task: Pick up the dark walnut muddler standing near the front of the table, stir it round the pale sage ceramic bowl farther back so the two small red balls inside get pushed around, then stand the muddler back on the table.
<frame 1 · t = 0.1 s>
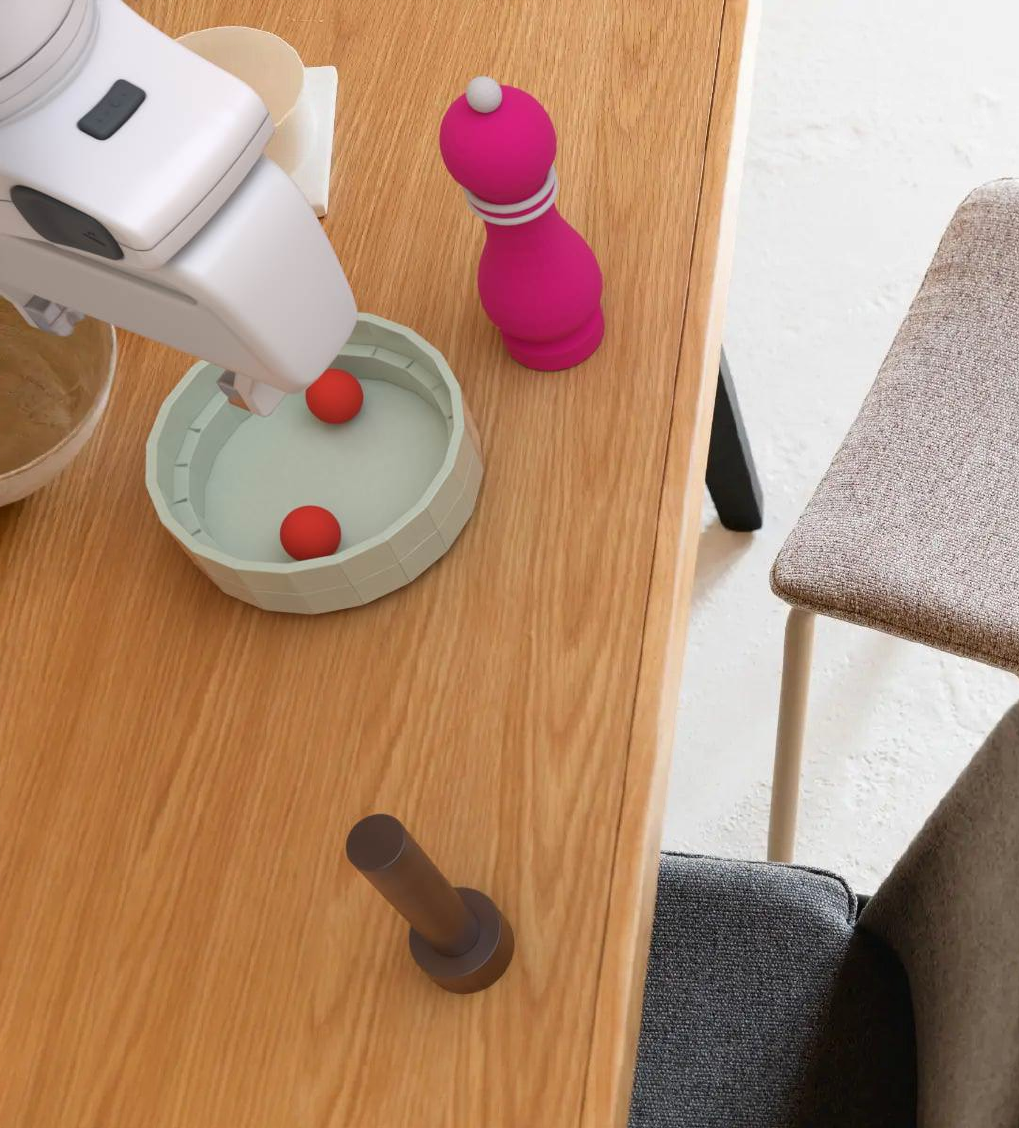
hand: (161, 359, 58), 27 cm above the table, tool pointing down, fingers open, 8 cm apart
ball a: (334, 396, 88), point 2 cm above the table, touching bowl
pepper mill: (555, 333, 93), on the table
muddler: (469, 948, 74), on the table
ball b: (310, 534, 83), point 2 cm above the table, touching bowl
bowl: (336, 488, 87), on the table
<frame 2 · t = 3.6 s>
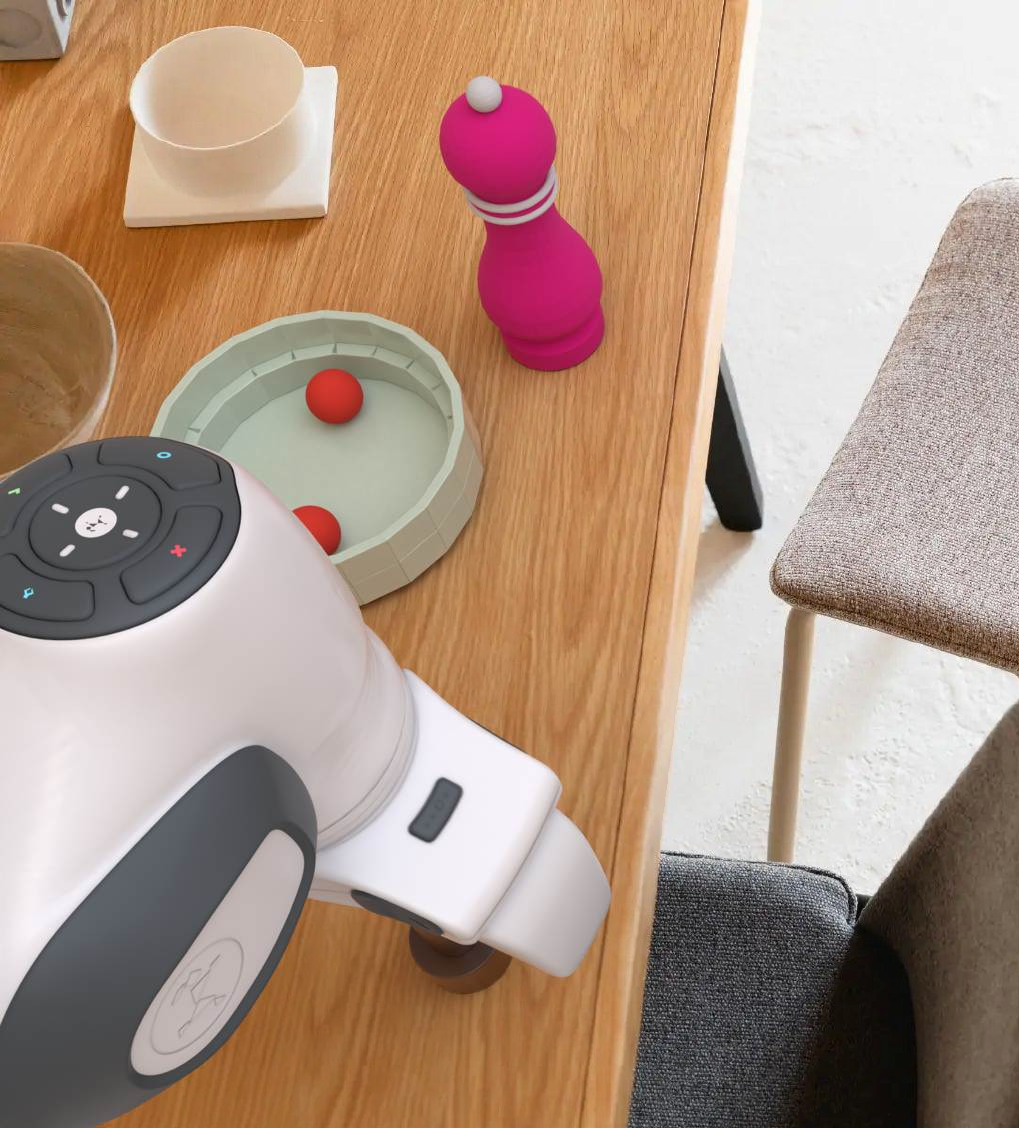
hand: (408, 879, 64), 11 cm above the table, tool pointing down, fingers closed on muddler, 2 cm apart
muddler: (469, 948, 74), on the table, touching gripper
everything else where it was.
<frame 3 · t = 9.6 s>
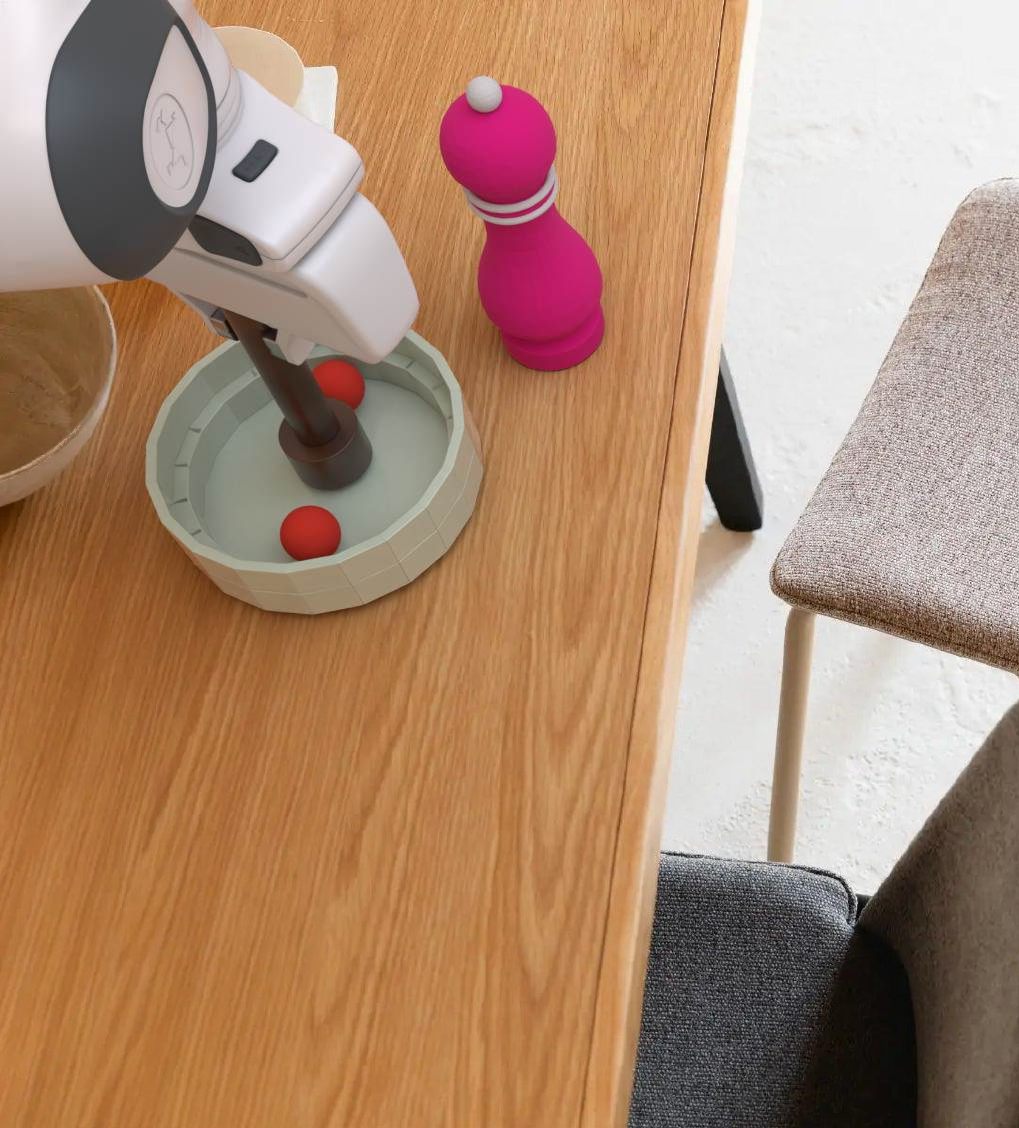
hand: (265, 340, 77), 12 cm above the table, tool pointing down, fingers closed on muddler, 2 cm apart
ball a: (336, 387, 88), point 2 cm above the table, tilted 20°, touching bowl
muddler: (334, 458, 87), point 1 cm above the table, touching gripper
everything else where it was.
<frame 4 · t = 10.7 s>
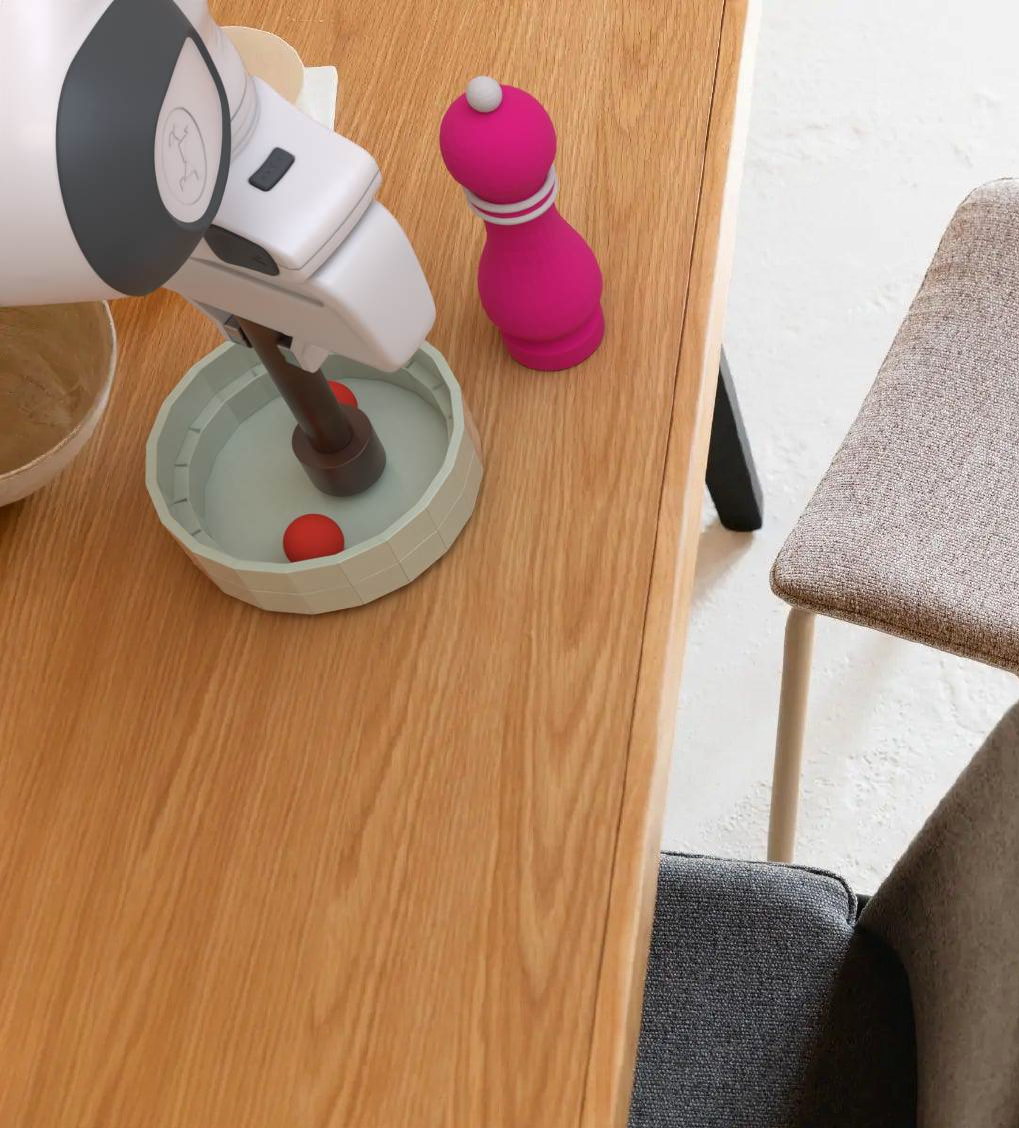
hand: (280, 347, 76), 13 cm above the table, tool pointing down, fingers closed on muddler, 2 cm apart
ball a: (329, 408, 87), point 2 cm above the table, tilted 34°, touching bowl
muddler: (347, 464, 86), point 2 cm above the table, touching gripper
ball b: (313, 542, 83), point 2 cm above the table, tilted 21°, touching bowl
everything else where it was.
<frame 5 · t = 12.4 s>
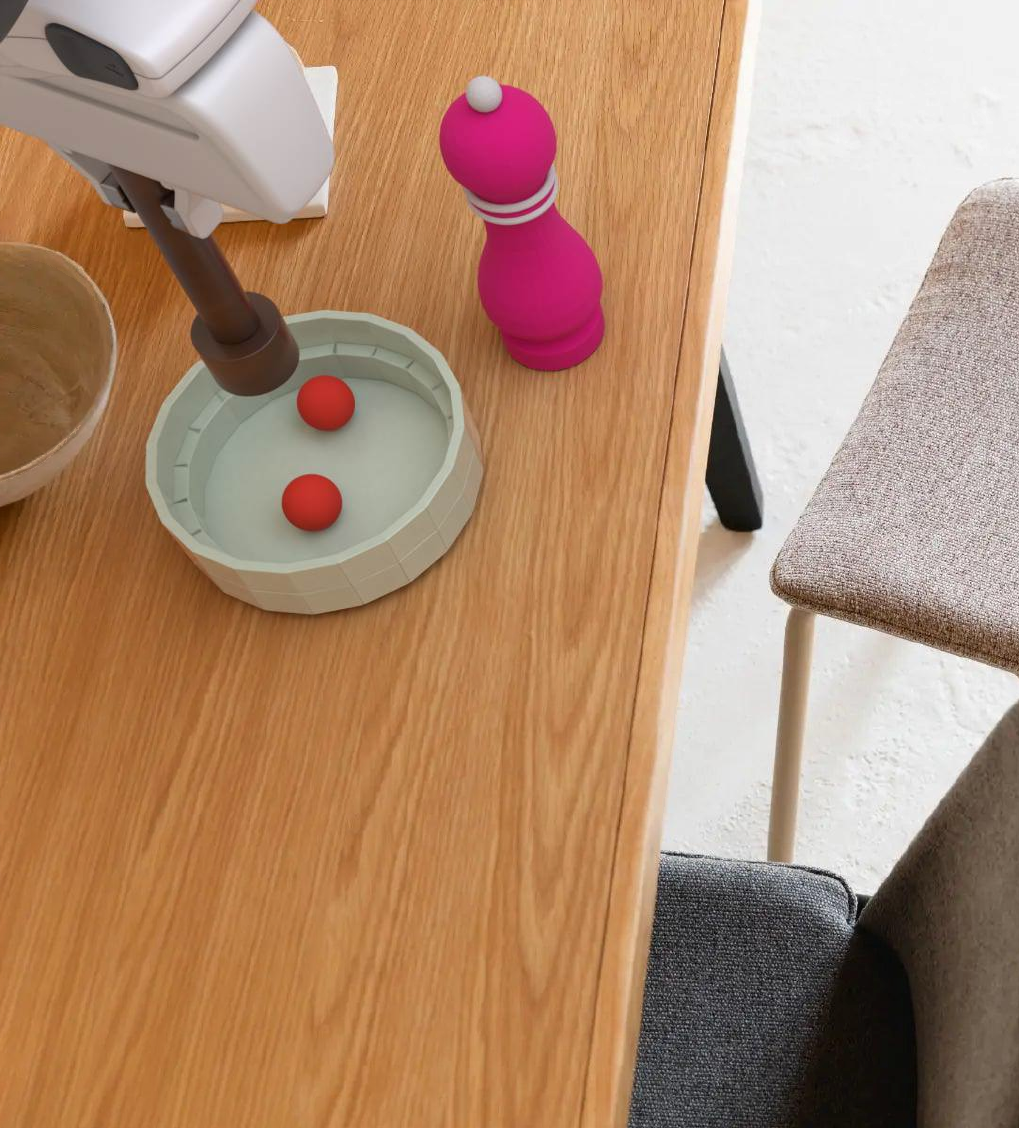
hand: (167, 212, 67), 23 cm above the table, tool pointing down, fingers closed on muddler, 2 cm apart
ball a: (326, 403, 87), point 2 cm above the table, tilted 24°, touching bowl
muddler: (256, 362, 77), point 12 cm above the table, touching gripper
ball b: (312, 502, 84), point 2 cm above the table, tilted 75°, touching bowl
everything else where it was.
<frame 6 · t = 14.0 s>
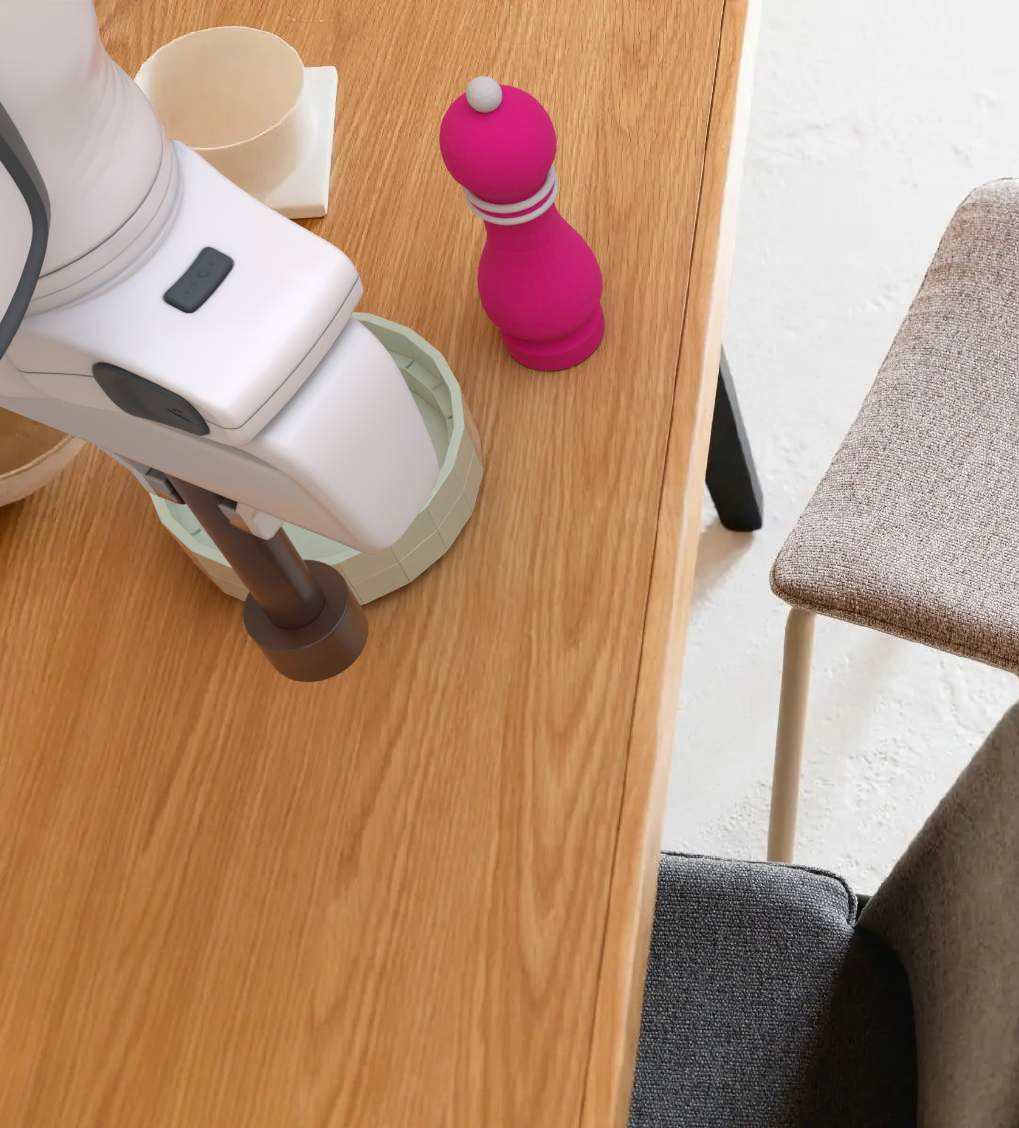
hand: (223, 502, 56), 26 cm above the table, tool pointing down, fingers closed on muddler, 2 cm apart
ball a: (326, 421, 87), point 2 cm above the table, tilted 66°, touching bowl
muddler: (318, 637, 66), point 15 cm above the table, touching gripper
ball b: (310, 468, 85), point 2 cm above the table, tilted 158°, touching bowl
everything else where it was.
when the fingers open (11 cm above the table, at t = 18.7 s): muddler stays where it is, on the table.
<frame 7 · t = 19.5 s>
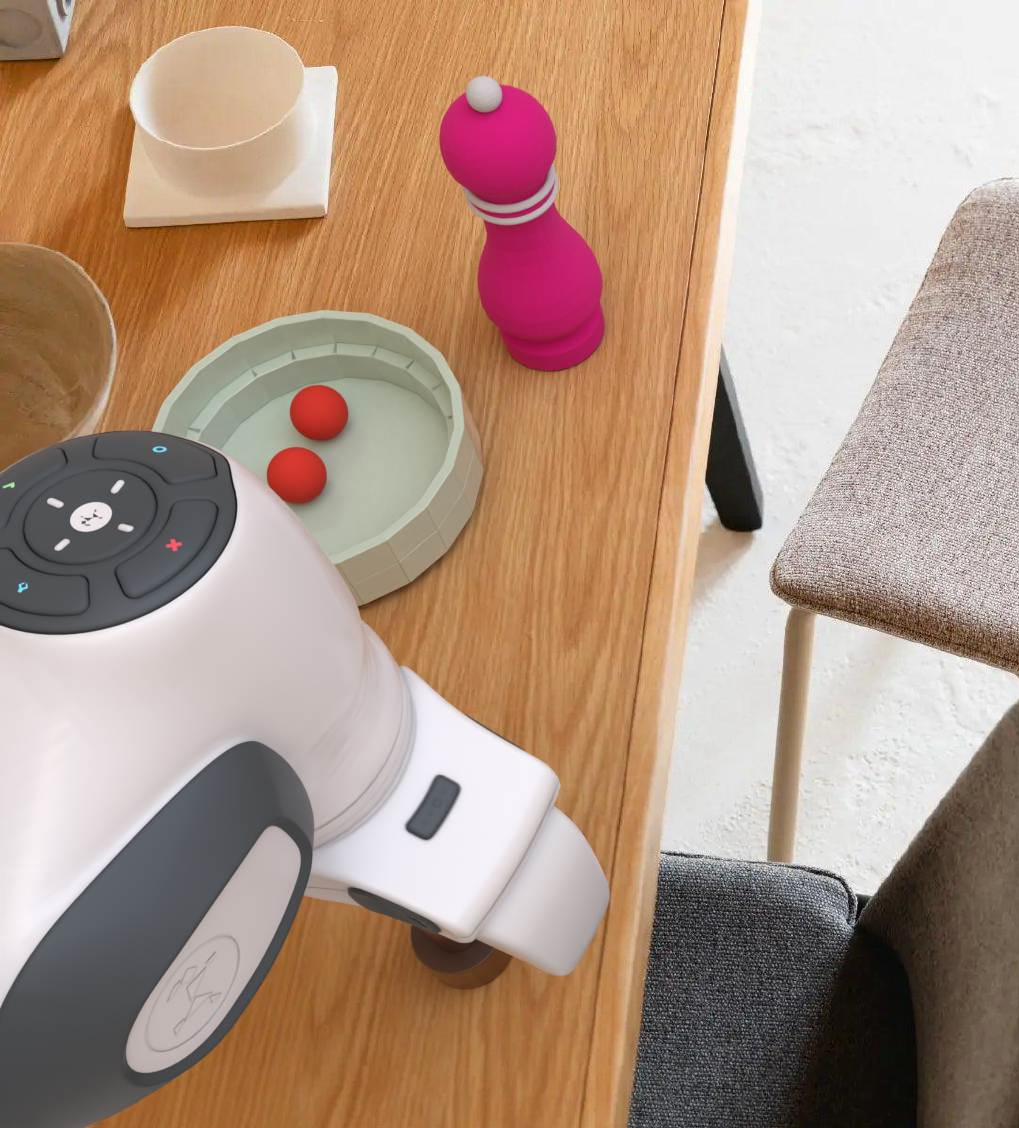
hand: (406, 878, 64), 11 cm above the table, tool pointing down, fingers open, 8 cm apart
ball a: (319, 412, 87), point 2 cm above the table, tilted 50°, touching bowl
muddler: (471, 944, 74), on the table
ball b: (296, 475, 85), point 2 cm above the table, tilted 134°, touching bowl
everything else where it was.
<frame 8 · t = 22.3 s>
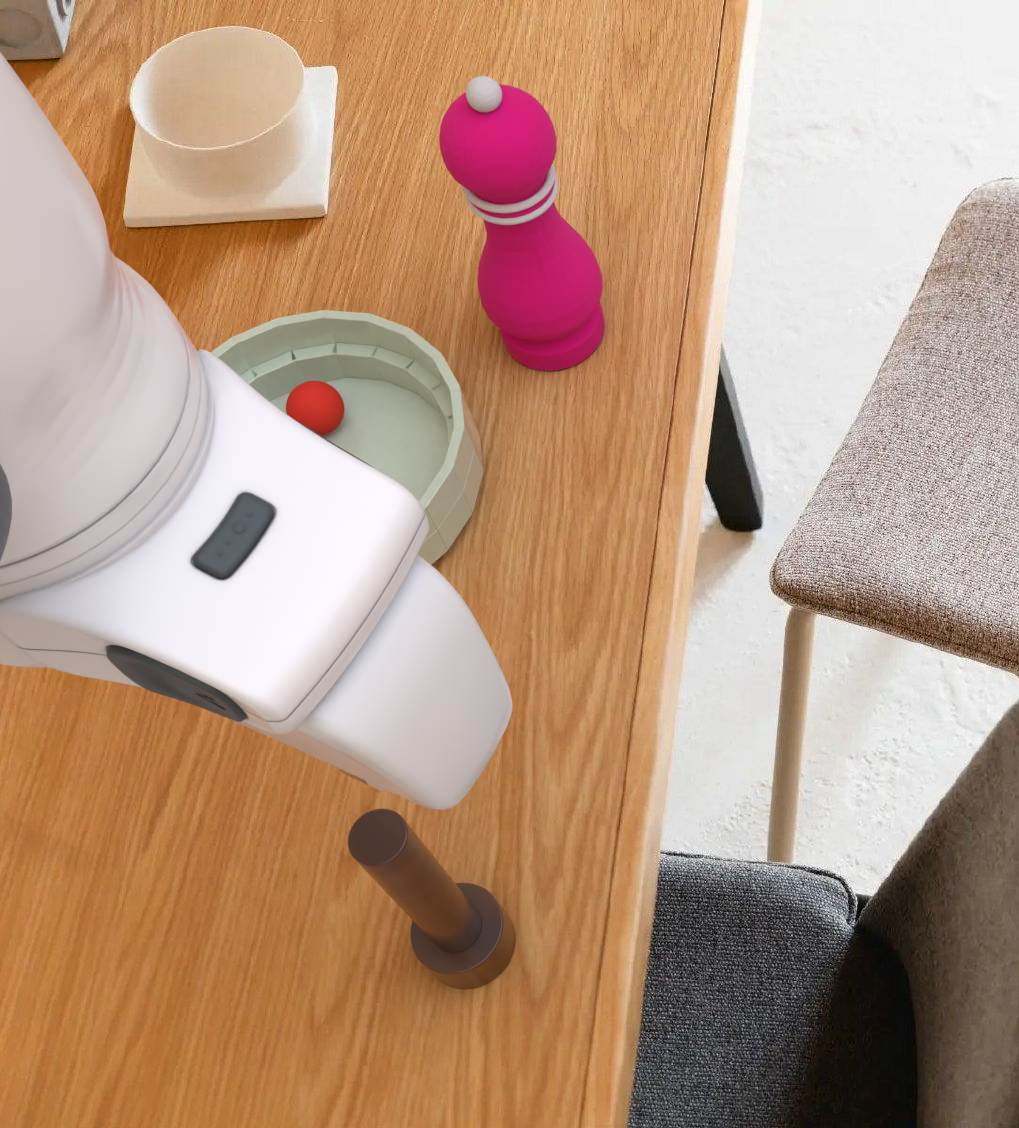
hand: (257, 707, 49), 29 cm above the table, tool pointing down, fingers open, 8 cm apart
ball b: (290, 479, 85), point 2 cm above the table, tilted 120°, touching bowl
everything else where it was.
at the end: ball a moved 1.3 cm from its start; ball a inside the target area in the bowl (4.1 cm from its centre), point 2.4 cm above the bowl's base; muddler tilted 0° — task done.
